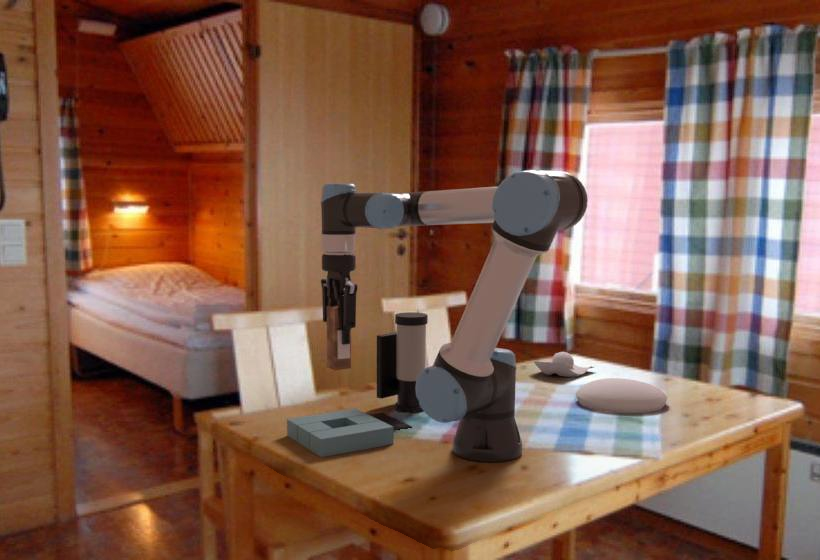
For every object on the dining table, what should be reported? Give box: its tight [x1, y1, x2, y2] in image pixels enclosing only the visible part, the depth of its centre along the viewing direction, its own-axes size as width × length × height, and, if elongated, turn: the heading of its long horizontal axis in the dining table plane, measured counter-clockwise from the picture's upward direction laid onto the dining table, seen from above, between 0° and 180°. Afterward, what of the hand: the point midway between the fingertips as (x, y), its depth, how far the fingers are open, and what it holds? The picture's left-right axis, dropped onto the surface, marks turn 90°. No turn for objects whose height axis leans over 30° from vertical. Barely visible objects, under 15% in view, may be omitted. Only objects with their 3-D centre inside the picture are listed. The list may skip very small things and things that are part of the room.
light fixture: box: [376, 311, 429, 414], centre depth 219 cm, size 12×11×25 cm
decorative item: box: [575, 377, 668, 414], centre depth 225 cm, size 24×7×20 cm
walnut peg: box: [326, 305, 352, 371], centre depth 189 cm, size 4×4×14 cm
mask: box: [531, 351, 595, 378], centre depth 260 cm, size 20×8×15 cm
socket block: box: [286, 408, 395, 458], centre depth 192 cm, size 18×18×4 cm
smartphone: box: [369, 412, 413, 431], centre depth 206 cm, size 7×1×15 cm
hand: (338, 356), depth 190 cm, fingers closed on walnut peg, 4 cm apart
